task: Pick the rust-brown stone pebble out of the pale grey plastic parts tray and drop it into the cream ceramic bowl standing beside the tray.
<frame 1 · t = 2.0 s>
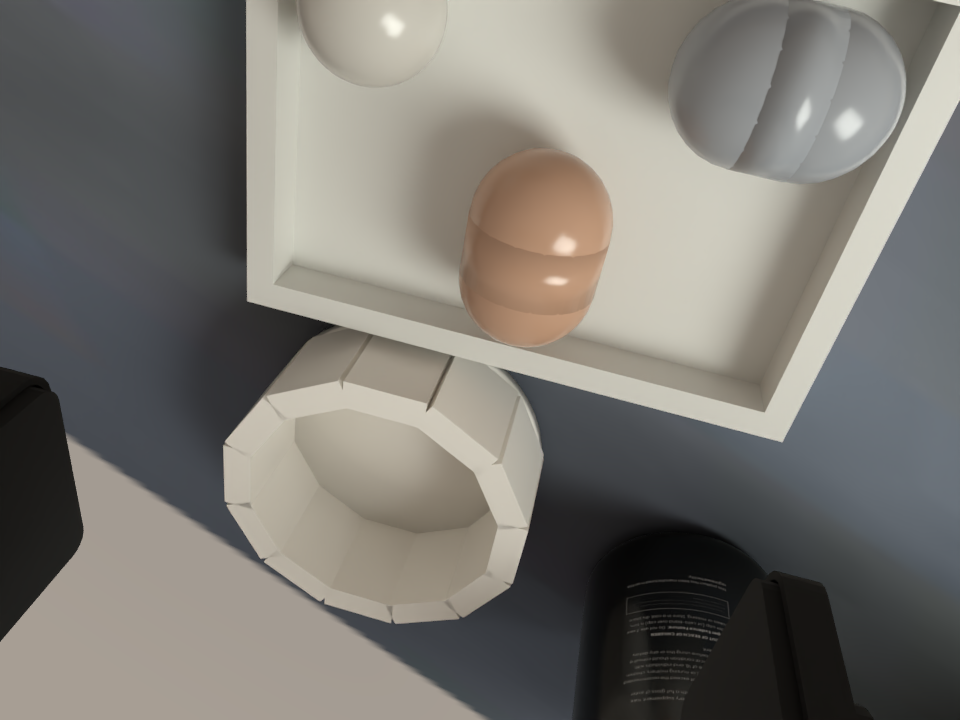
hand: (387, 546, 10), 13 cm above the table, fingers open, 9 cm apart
supplement bottle: (679, 588, 28), on the table
parts tray: (562, 148, 20), on the table
bowl: (406, 437, 26), on the table
pebble b: (771, 74, 18), point 1 cm above the table, touching parts tray
pebble a: (543, 225, 21), point 1 cm above the table, touching parts tray
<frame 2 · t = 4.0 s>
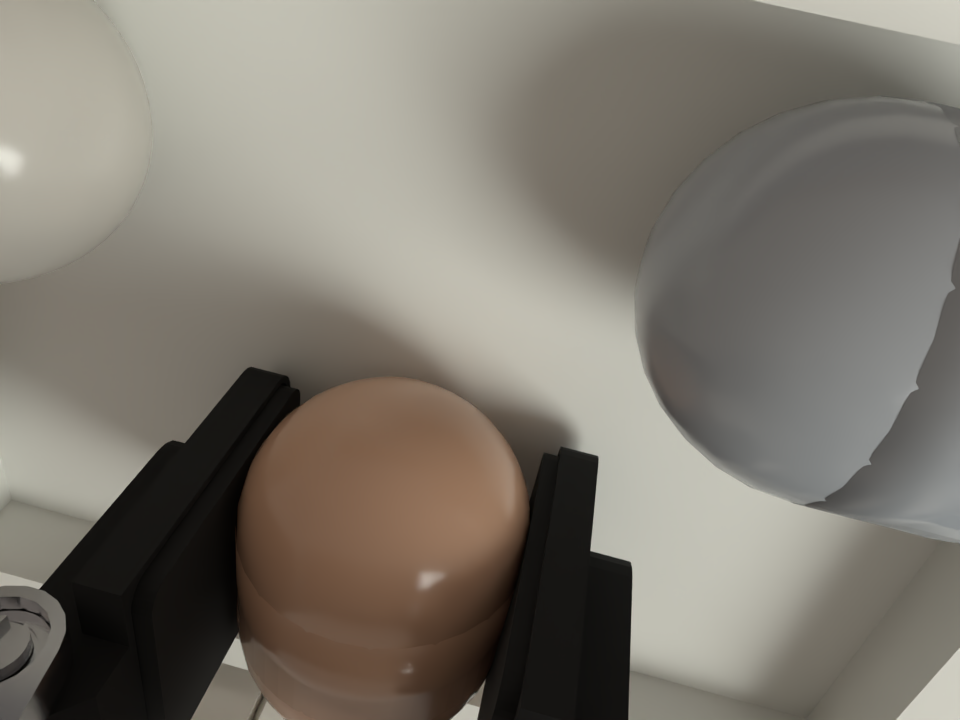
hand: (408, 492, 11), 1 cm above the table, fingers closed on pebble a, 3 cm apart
pebble c: (75, 75, 9), point 1 cm above the table, touching parts tray
parts tray: (444, 342, 11), on the table
bowl: (249, 713, 17), on the table
pebble b: (859, 242, 8), point 1 cm above the table, touching parts tray
pebble a: (416, 472, 11), point 1 cm above the table, touching gripper, parts tray
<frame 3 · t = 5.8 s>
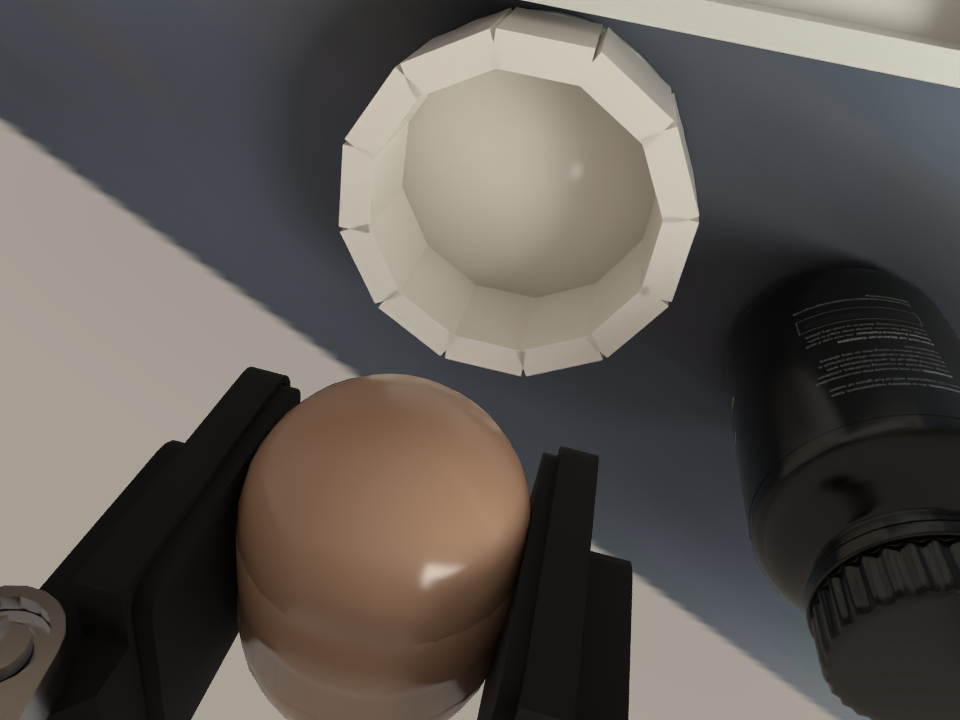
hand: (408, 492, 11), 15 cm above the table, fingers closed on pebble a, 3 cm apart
supplement bottle: (828, 350, 25), on the table
bowl: (529, 175, 24), on the table
pebble a: (417, 470, 11), point 15 cm above the table, touching gripper
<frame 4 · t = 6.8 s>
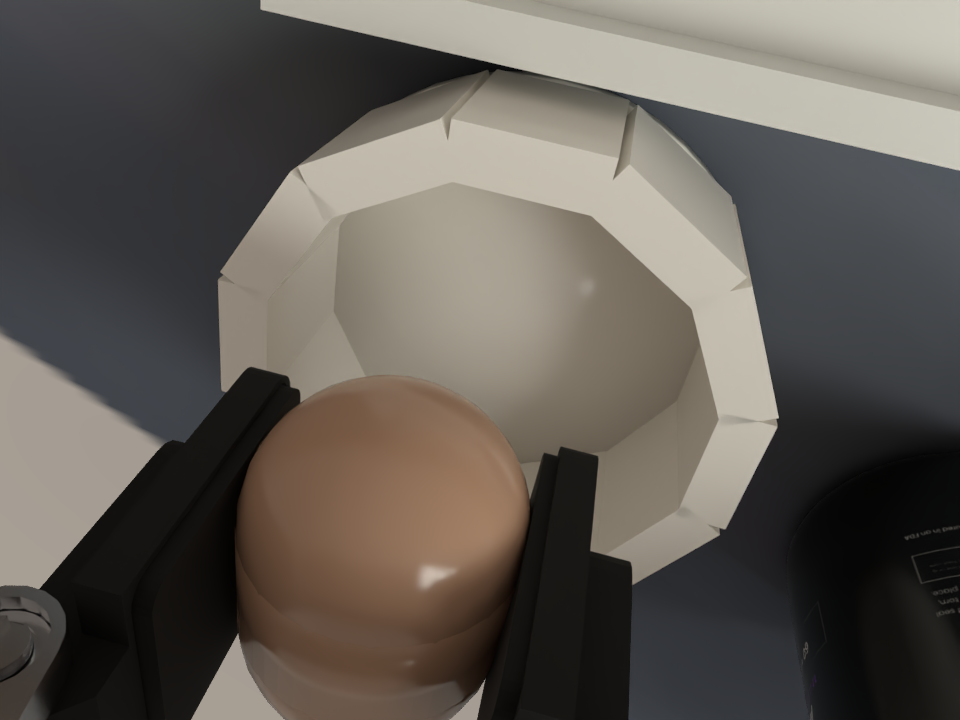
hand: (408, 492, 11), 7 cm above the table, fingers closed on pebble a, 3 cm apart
supplement bottle: (934, 549, 18), on the table
bowl: (515, 301, 16), on the table
pebble a: (416, 470, 11), point 6 cm above the table, touching gripper
when the fingers open (4 cm above the table, at t = 7.7 s): pebble a drops 3 cm, resting on bowl.
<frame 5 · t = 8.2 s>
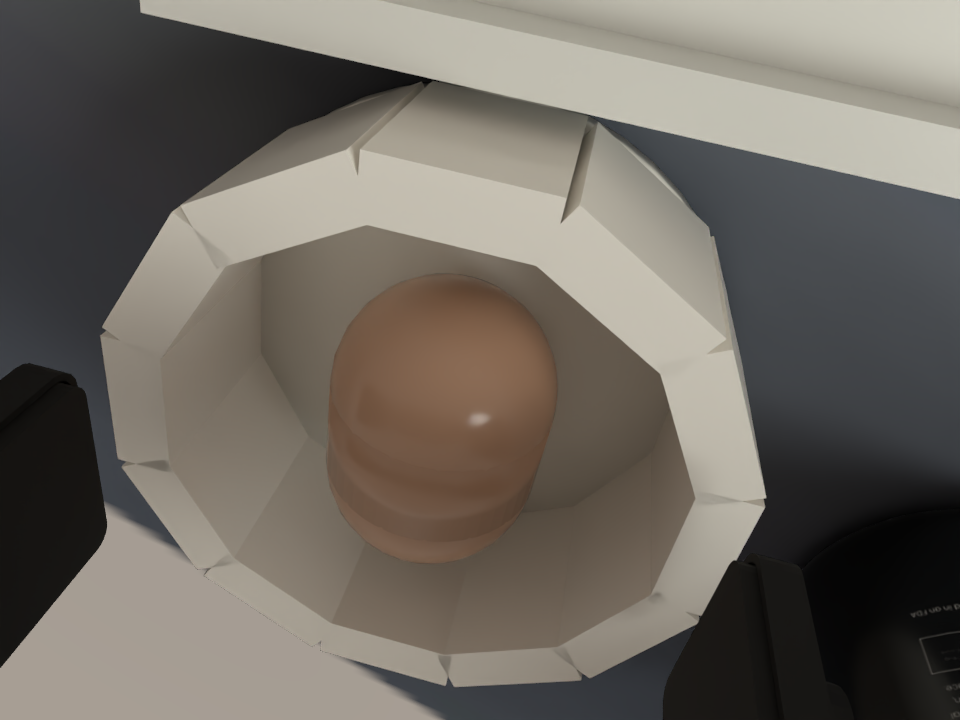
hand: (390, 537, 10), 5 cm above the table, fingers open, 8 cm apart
supplement bottle: (939, 607, 16), on the table
bowl: (467, 342, 14), on the table
pebble a: (462, 359, 14), point 1 cm above the table, touching bowl
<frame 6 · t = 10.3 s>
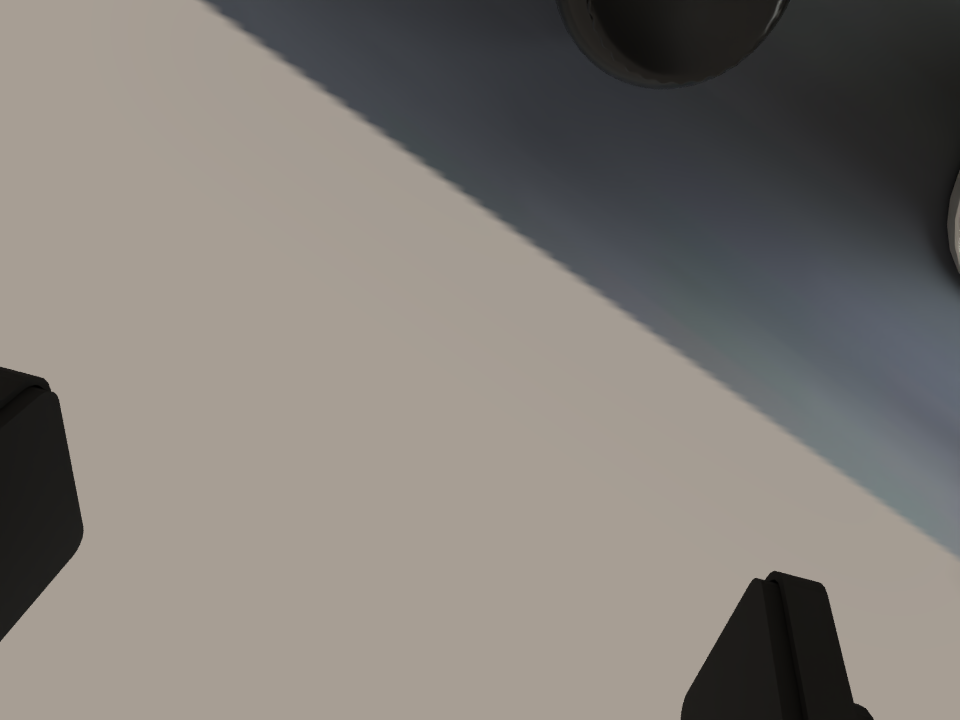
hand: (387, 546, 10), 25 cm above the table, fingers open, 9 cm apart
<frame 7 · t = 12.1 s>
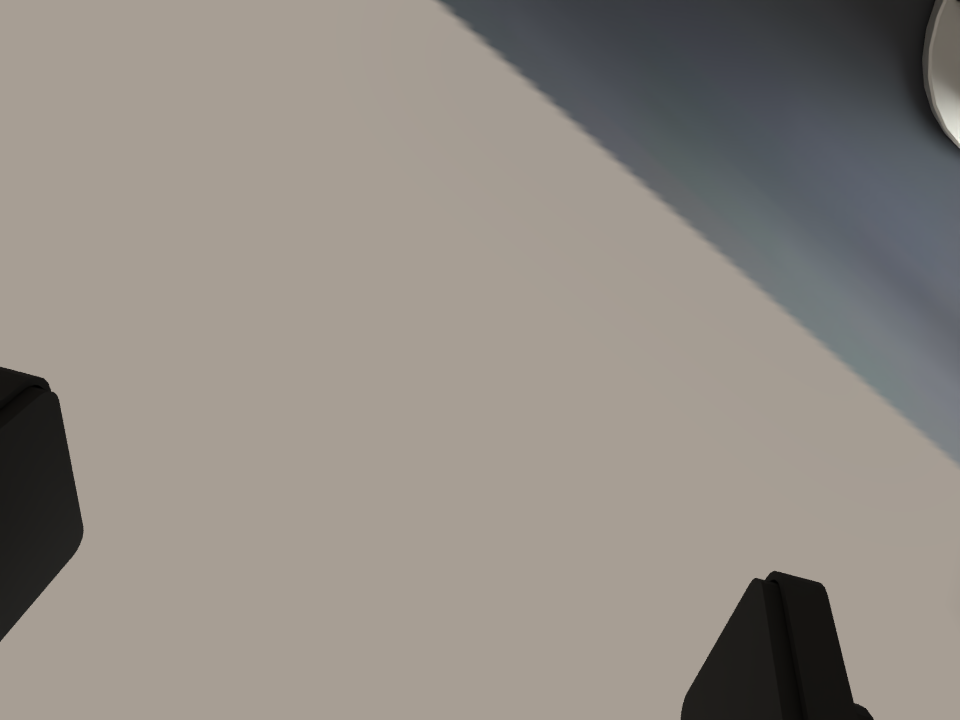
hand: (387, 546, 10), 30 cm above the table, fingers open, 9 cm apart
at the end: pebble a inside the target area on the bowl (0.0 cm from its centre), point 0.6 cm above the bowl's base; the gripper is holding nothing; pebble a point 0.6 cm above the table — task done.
